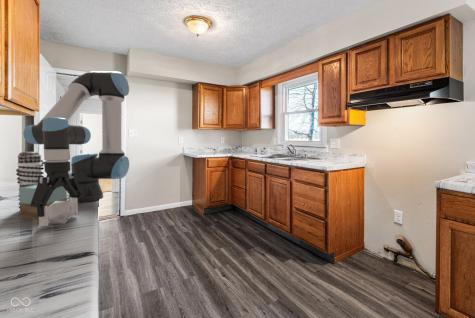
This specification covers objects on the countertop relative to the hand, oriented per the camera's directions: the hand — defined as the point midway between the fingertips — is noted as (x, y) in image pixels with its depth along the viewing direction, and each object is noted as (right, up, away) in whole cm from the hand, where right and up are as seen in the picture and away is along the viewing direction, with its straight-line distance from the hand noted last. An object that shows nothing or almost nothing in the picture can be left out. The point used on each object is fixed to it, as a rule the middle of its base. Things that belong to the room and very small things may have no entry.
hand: (60, 219), depth 90 cm
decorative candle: (-24, 0, +17) cm, 30 cm away
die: (0, -1, 0) cm, 1 cm away
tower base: (-13, -1, +9) cm, 16 cm away
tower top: (-13, +5, +9) cm, 17 cm away
